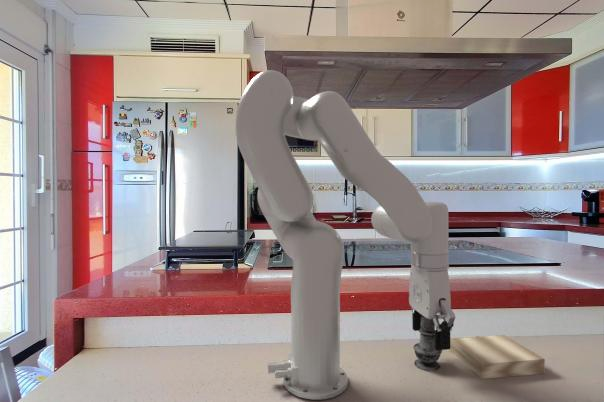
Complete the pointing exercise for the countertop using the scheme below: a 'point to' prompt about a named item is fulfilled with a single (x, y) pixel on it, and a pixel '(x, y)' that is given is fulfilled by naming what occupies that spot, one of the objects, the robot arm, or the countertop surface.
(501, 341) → the birch base block
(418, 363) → the weathered stone finial
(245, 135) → the robot arm
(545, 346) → the countertop surface
